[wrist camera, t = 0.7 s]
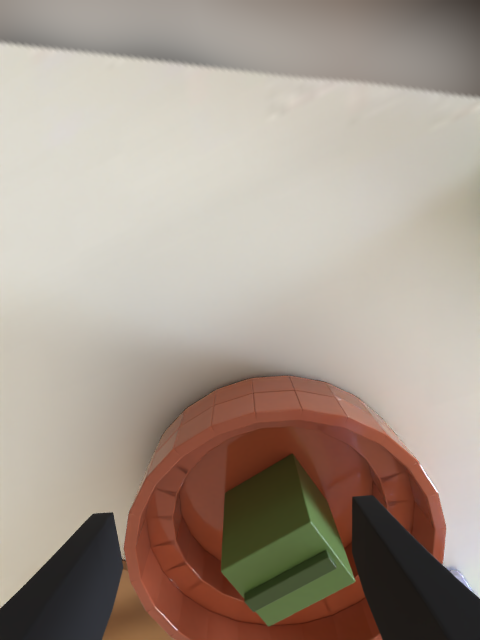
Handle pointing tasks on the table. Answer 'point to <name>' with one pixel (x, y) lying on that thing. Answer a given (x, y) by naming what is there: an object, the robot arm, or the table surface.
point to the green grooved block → (282, 542)
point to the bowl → (240, 465)
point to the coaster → (131, 616)
